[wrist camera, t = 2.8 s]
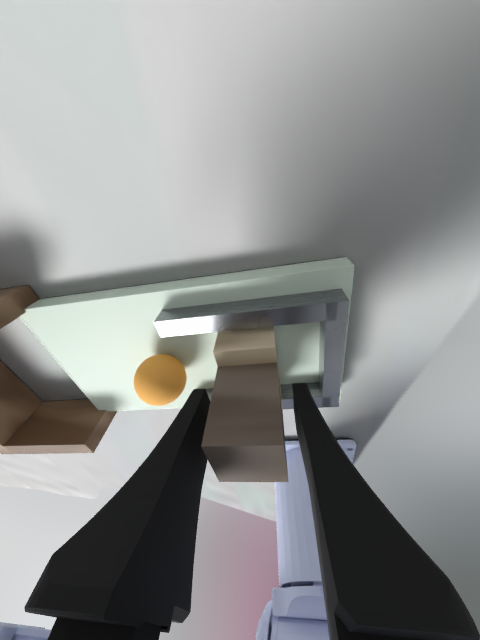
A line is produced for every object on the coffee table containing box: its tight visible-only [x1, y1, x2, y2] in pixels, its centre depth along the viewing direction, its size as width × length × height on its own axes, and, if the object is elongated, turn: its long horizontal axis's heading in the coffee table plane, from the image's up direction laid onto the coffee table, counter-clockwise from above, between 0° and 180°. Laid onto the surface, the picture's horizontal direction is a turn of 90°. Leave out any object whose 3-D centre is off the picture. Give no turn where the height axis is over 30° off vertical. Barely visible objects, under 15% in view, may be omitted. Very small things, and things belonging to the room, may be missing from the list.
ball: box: [134, 354, 187, 406], centre depth 14 cm, size 3×3×3 cm
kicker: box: [201, 326, 289, 482], centre depth 12 cm, size 5×3×6 cm, turn 10°
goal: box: [0, 285, 117, 454], centre depth 16 cm, size 12×8×4 cm
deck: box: [19, 257, 355, 411], centre depth 15 cm, size 10×19×1 cm, turn 100°
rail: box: [154, 289, 349, 409], centre depth 14 cm, size 8×10×1 cm
